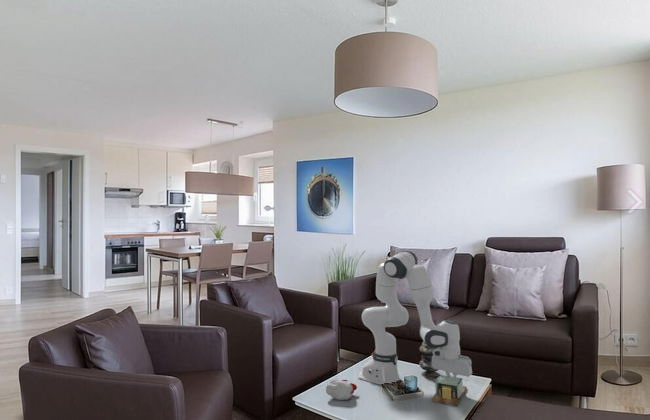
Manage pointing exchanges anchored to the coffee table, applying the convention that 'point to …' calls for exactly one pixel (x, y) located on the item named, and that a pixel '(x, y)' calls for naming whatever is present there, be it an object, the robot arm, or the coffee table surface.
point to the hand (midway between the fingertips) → (451, 381)
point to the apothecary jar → (427, 361)
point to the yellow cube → (446, 392)
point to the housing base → (452, 401)
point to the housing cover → (449, 383)
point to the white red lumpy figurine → (340, 389)
